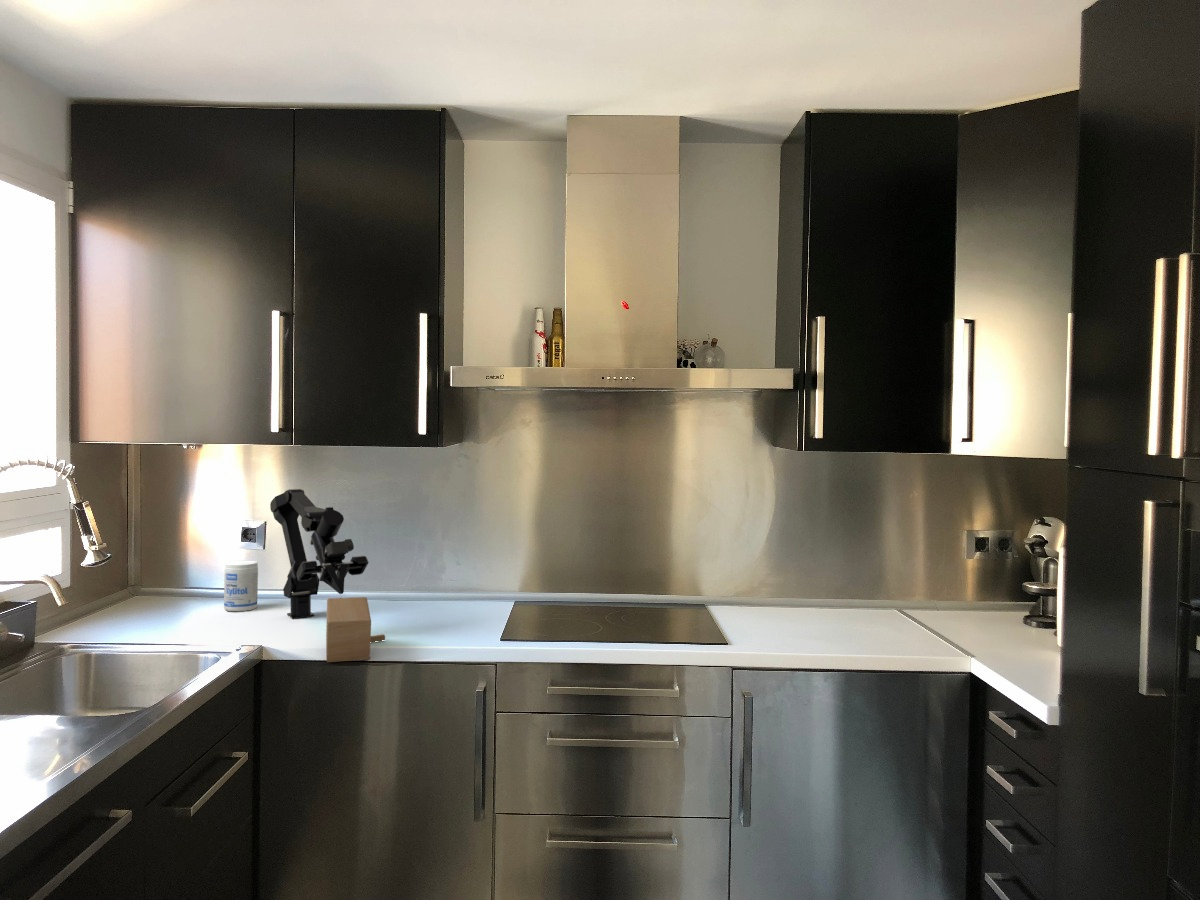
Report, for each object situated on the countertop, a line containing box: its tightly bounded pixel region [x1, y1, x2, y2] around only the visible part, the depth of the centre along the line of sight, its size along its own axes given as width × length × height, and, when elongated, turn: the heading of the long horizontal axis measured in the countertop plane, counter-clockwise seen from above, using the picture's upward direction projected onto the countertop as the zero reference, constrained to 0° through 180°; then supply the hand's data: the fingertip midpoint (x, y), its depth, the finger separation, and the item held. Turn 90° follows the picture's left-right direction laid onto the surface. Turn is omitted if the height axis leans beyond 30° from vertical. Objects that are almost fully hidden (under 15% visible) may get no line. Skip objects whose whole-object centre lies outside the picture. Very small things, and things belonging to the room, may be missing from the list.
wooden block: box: [325, 596, 372, 663], centre depth 195 cm, size 10×10×20 cm
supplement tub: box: [223, 560, 259, 612], centre depth 243 cm, size 10×10×15 cm
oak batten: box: [371, 633, 386, 643], centre depth 203 cm, size 2×14×2 cm, turn 125°
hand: (341, 593), depth 212 cm, fingers closed
